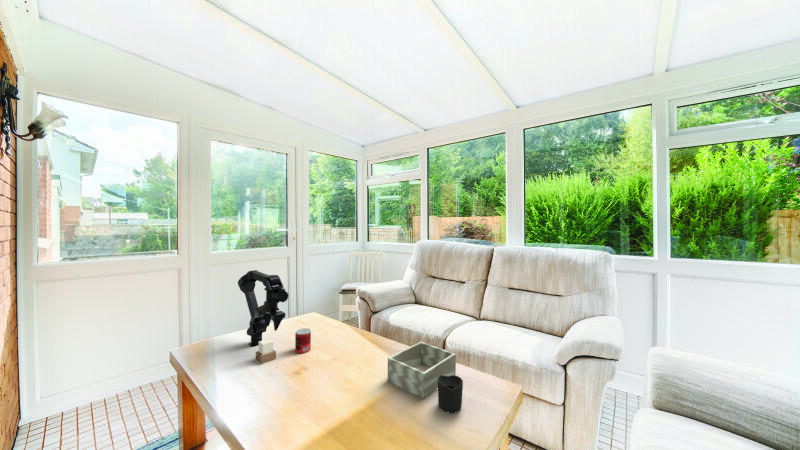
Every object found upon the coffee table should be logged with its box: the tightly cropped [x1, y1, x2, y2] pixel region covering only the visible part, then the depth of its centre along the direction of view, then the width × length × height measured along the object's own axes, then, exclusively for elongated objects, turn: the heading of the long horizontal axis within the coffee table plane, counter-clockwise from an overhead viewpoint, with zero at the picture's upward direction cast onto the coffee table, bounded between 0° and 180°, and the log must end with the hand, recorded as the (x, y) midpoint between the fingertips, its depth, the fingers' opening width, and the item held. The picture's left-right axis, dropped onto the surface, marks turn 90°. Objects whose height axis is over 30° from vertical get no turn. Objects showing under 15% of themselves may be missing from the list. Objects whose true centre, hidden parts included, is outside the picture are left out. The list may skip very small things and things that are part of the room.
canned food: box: [294, 327, 312, 355], centre depth 156 cm, size 8×8×11 cm
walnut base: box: [255, 349, 277, 365], centre depth 146 cm, size 7×7×4 cm
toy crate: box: [387, 341, 457, 400], centre depth 131 cm, size 20×24×10 cm
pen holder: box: [437, 374, 464, 414], centre depth 111 cm, size 9×9×10 cm
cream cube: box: [257, 338, 274, 355], centre depth 146 cm, size 5×5×5 cm
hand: (271, 328), depth 157 cm, fingers open, 9 cm apart
